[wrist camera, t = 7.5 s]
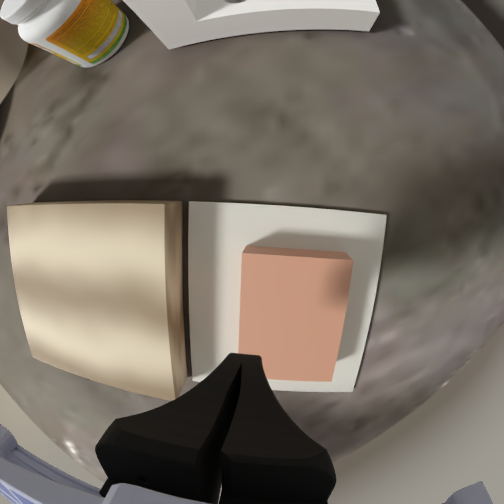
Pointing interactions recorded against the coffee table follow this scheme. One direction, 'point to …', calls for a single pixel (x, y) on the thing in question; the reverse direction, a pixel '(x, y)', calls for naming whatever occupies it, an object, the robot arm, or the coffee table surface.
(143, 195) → the coffee table surface
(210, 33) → the bracket
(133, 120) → the coffee table surface
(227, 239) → the mat
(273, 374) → the tile
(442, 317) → the coffee table surface
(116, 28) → the supplement bottle
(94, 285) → the beige flat block
